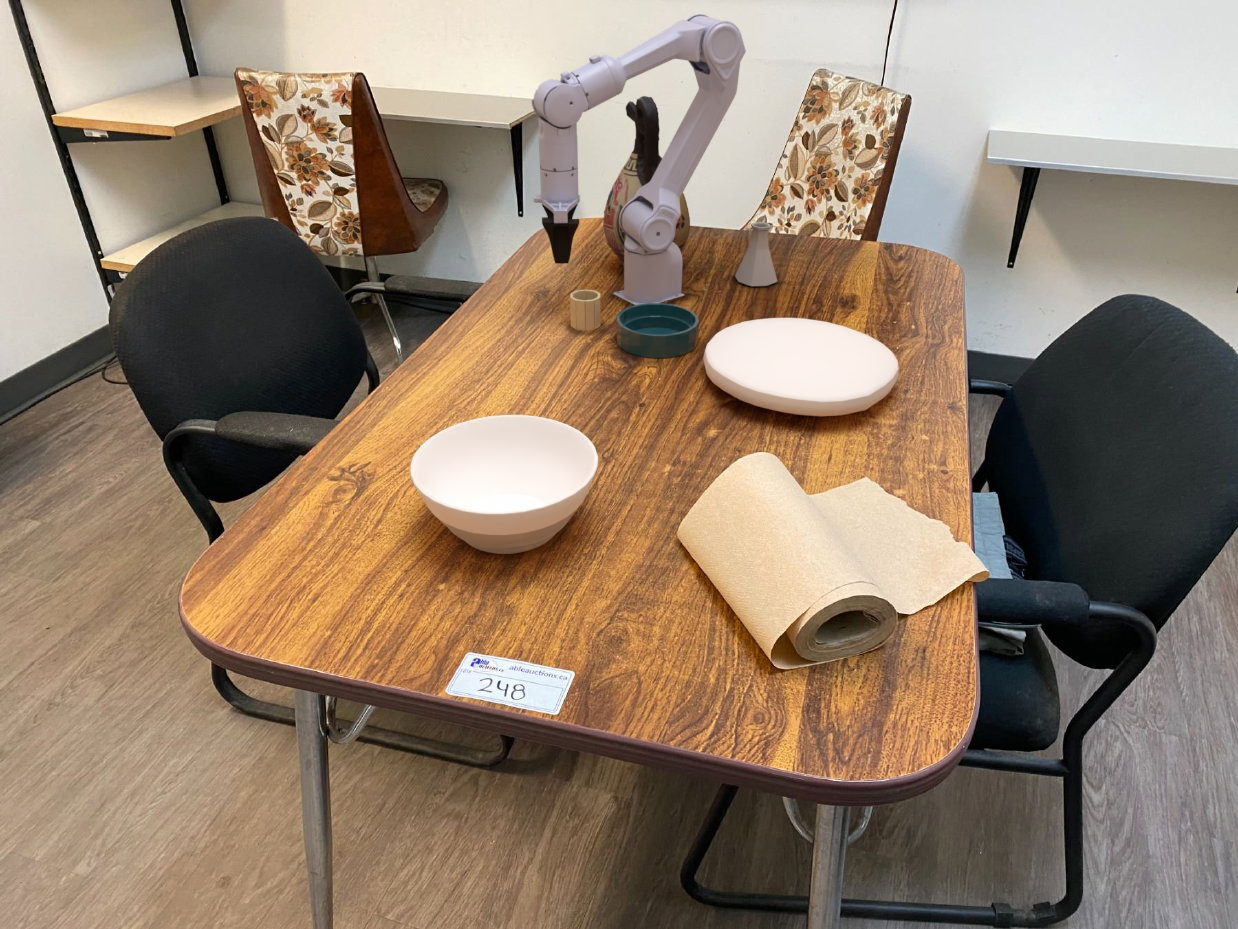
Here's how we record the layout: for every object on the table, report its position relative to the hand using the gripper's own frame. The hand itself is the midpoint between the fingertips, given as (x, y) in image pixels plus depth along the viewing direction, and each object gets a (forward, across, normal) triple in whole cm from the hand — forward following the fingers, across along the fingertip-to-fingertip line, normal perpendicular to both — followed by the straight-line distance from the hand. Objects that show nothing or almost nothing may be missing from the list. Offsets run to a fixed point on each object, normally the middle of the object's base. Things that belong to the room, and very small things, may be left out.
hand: (561, 254), depth 145 cm
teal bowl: (+9, +14, +14) cm, 22 cm away
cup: (+9, +7, +3) cm, 12 cm away
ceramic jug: (+10, -18, +16) cm, 26 cm away
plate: (+10, +28, +32) cm, 44 cm away
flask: (+10, -12, +34) cm, 37 cm away
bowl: (+10, +59, -7) cm, 60 cm away
